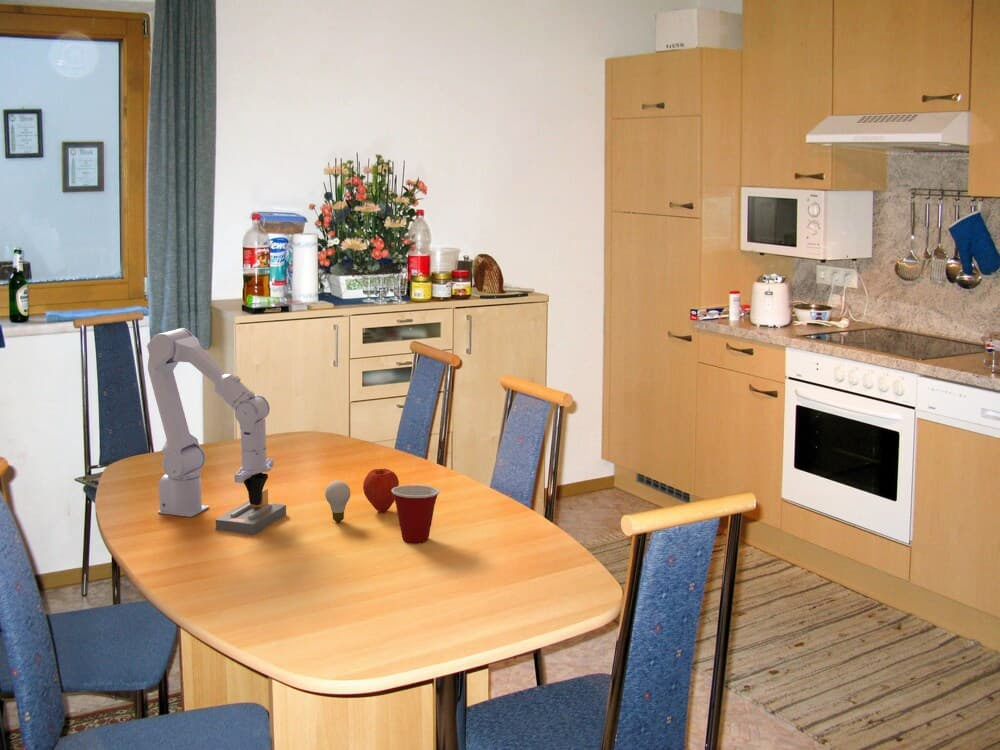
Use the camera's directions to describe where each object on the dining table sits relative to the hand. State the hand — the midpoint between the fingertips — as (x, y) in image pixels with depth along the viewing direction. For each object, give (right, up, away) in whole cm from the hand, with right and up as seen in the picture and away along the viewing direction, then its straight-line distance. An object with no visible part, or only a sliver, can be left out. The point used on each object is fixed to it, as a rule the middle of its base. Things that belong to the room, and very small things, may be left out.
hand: (255, 504), depth 263 cm
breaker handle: (+1, -1, +2) cm, 2 cm away
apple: (+29, -3, +8) cm, 30 cm away
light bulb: (+20, -4, 0) cm, 20 cm away
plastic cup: (+39, -7, -11) cm, 41 cm away
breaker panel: (-1, -4, -1) cm, 4 cm away
